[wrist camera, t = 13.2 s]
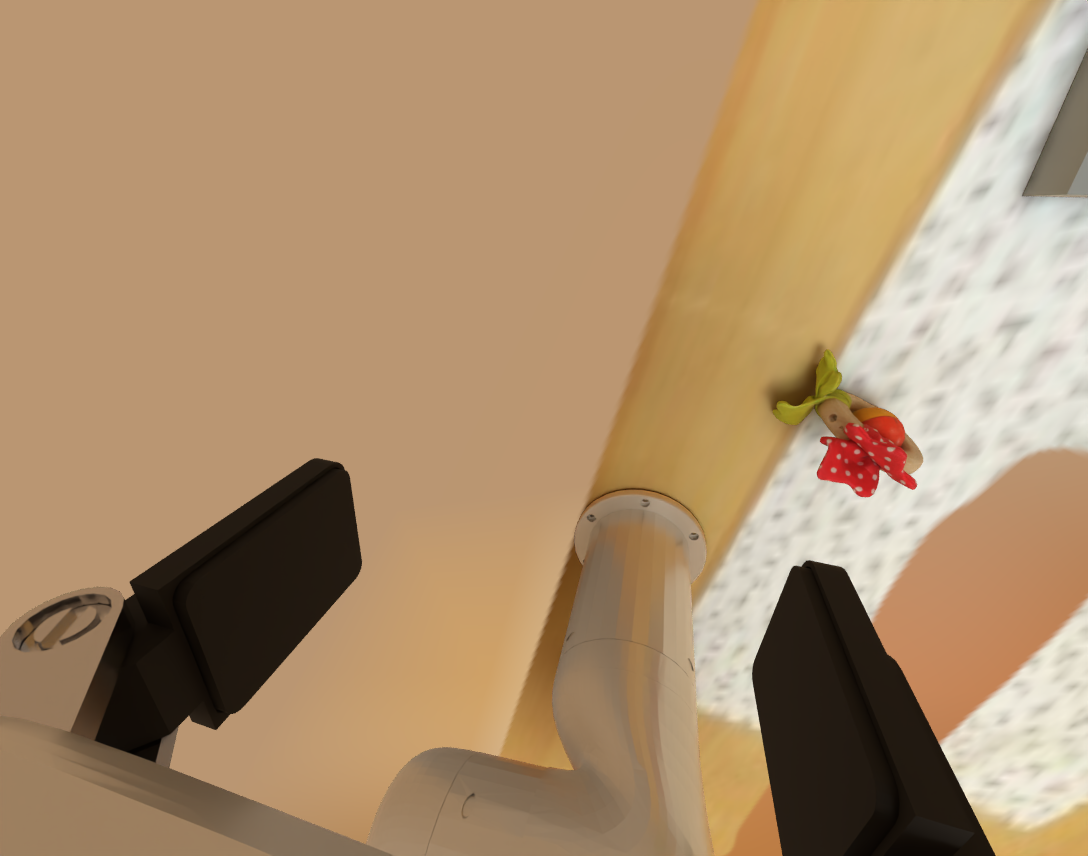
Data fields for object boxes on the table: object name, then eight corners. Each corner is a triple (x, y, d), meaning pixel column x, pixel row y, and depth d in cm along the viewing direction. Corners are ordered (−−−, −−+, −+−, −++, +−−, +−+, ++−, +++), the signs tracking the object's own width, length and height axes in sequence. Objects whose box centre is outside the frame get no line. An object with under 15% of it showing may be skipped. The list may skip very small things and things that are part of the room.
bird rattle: (884, 367, 35) (795, 333, 32) (1030, 457, 26) (923, 421, 23) (830, 431, 38) (744, 406, 35) (943, 531, 29) (839, 508, 26)
